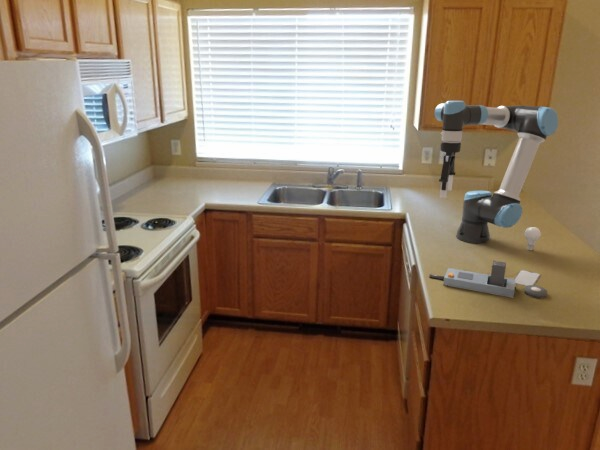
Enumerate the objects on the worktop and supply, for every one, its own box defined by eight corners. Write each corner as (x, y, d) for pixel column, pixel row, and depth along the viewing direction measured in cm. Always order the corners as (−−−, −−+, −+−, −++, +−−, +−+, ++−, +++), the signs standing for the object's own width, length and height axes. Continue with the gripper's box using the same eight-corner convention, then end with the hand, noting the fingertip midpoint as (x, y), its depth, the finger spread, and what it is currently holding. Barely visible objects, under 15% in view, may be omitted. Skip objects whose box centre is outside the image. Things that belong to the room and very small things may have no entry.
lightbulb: (518, 249, 209) (522, 225, 206) (529, 247, 211) (532, 224, 208) (530, 253, 203) (534, 230, 200) (540, 251, 206) (545, 228, 202)
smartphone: (511, 282, 175) (521, 269, 186) (510, 283, 175) (520, 270, 187) (532, 287, 171) (541, 273, 182) (532, 289, 171) (540, 275, 182)
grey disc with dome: (524, 288, 171) (525, 283, 170) (545, 291, 168) (546, 287, 167) (524, 295, 165) (525, 291, 164) (546, 299, 162) (547, 294, 161)
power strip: (431, 272, 184) (432, 263, 183) (514, 286, 172) (515, 277, 171) (427, 281, 175) (427, 272, 174) (513, 297, 163) (514, 287, 162)
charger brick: (488, 285, 173) (492, 260, 170) (502, 287, 171) (506, 262, 168) (487, 289, 169) (491, 264, 166) (501, 292, 167) (505, 266, 164)
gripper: (446, 137, 194) (441, 186, 200) (435, 145, 172) (430, 200, 179) (464, 138, 191) (459, 188, 197) (456, 146, 169) (450, 202, 176)
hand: (445, 194), depth 188 cm, fingers open, 13 cm apart
